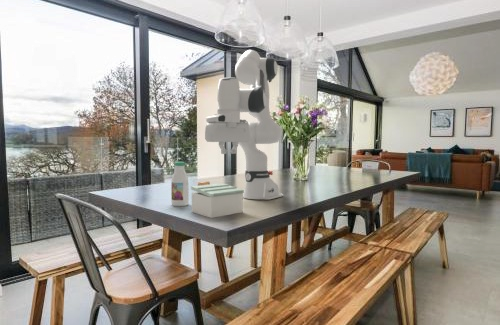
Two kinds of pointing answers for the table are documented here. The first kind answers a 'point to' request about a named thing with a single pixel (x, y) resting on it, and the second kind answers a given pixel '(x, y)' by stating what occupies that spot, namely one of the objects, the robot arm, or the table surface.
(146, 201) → the table surface
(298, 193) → the table surface
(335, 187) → the table surface
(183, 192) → the milk bottle
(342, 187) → the table surface
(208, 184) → the snap lid
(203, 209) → the box
